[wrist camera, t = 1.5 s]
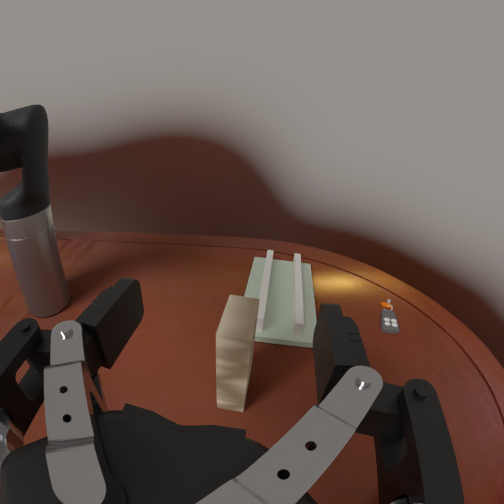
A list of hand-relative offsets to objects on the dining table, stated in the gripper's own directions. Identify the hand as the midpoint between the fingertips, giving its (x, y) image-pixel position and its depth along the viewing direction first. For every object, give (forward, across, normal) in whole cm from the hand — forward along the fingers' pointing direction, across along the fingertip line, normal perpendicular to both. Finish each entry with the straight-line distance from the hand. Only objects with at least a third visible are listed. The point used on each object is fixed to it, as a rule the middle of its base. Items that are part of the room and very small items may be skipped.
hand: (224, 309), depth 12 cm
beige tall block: (+11, 0, +20) cm, 23 cm away
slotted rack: (+32, -4, +20) cm, 38 cm away
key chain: (+30, -25, +21) cm, 45 cm away
